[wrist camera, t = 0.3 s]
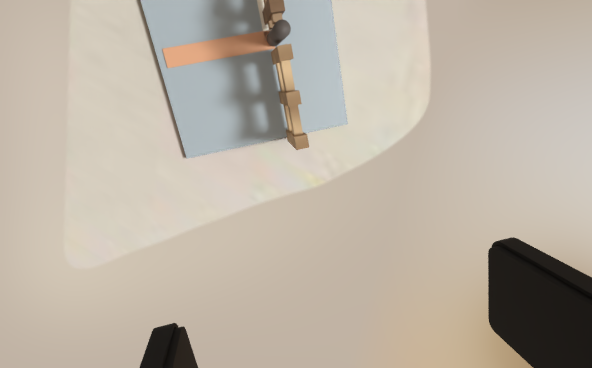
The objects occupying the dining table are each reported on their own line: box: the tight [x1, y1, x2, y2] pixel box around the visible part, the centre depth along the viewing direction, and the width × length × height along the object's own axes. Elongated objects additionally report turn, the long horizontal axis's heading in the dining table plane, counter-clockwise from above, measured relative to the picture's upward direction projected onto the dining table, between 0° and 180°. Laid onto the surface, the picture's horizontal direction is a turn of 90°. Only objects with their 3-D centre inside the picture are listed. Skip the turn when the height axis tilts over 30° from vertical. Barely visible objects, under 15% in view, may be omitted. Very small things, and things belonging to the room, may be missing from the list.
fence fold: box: [271, 44, 309, 150], centre depth 33 cm, size 9×1×6 cm, turn 11°
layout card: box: [140, 0, 348, 158], centre depth 34 cm, size 20×18×1 cm
